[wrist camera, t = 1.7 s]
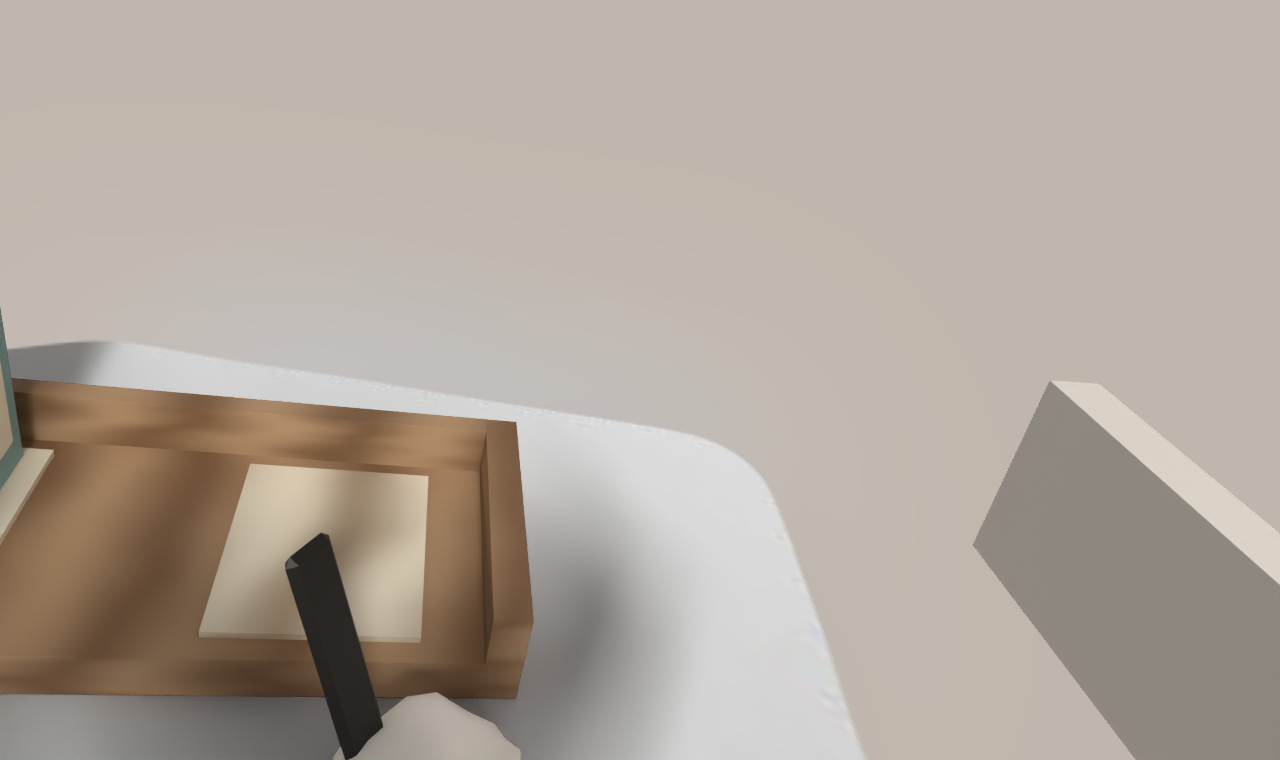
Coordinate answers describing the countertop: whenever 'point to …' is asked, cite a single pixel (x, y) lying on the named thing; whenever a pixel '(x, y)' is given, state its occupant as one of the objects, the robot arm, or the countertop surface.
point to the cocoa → (370, 744)
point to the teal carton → (7, 417)
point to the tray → (255, 545)
